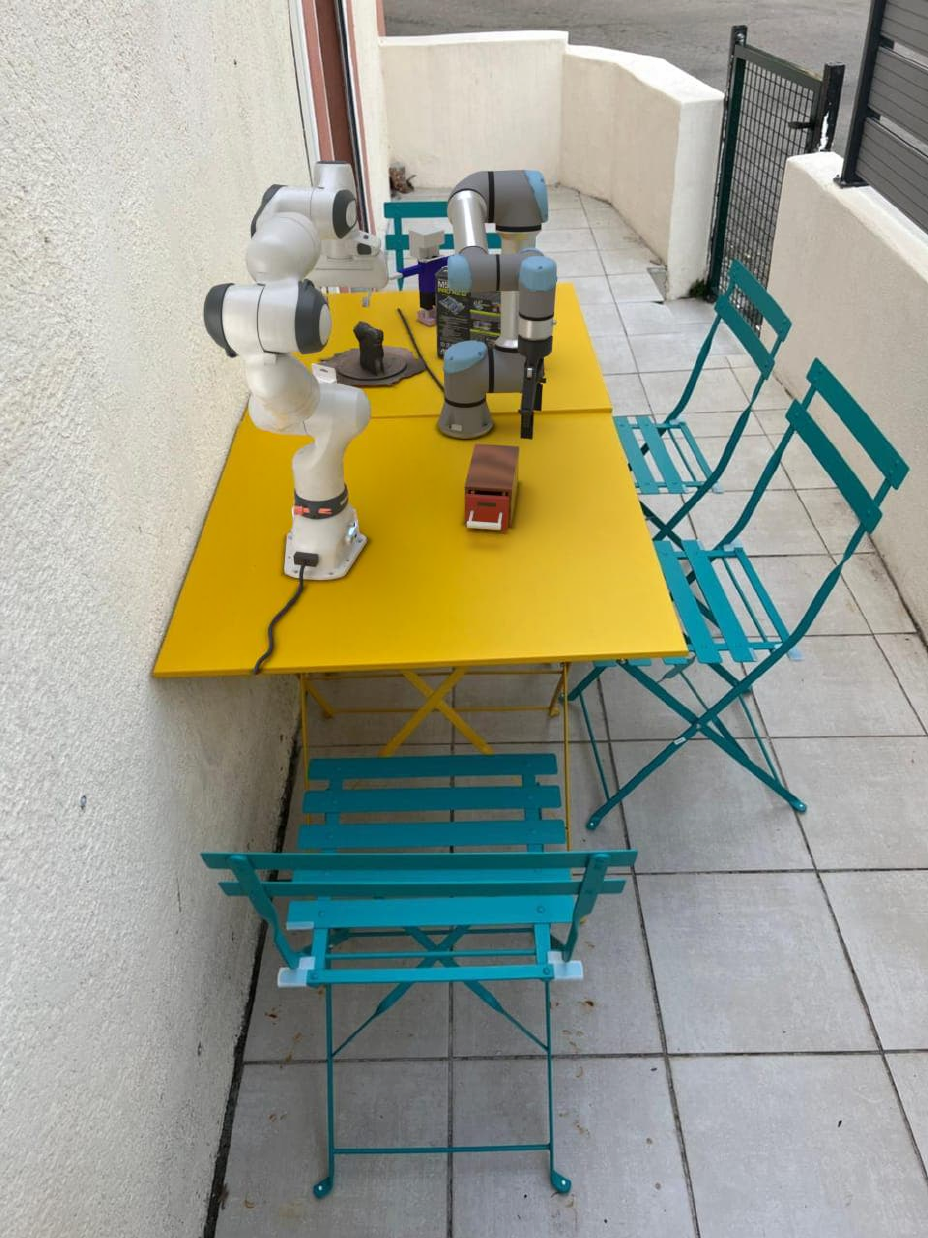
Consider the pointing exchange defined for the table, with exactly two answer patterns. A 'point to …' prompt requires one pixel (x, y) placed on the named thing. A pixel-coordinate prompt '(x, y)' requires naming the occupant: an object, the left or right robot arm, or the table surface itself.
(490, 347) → the box
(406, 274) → the toy
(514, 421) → the table surface
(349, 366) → the sculpture
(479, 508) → the drawer
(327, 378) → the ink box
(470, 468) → the cabinet
